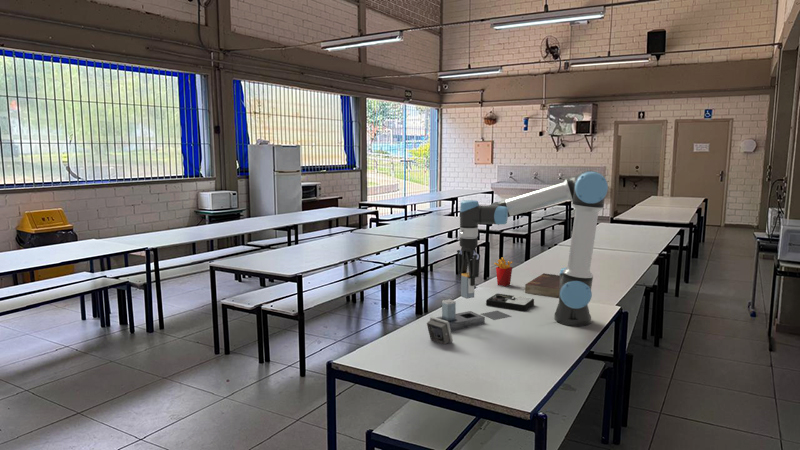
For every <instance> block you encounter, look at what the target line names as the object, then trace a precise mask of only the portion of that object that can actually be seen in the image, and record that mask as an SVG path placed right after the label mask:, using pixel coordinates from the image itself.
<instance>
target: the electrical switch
mask: <svg viewBox="0 0 800 450" xmlns="http://www.w3.org/2000/svg"><path fill="white" fill-rule="evenodd" d="M426 326H427V330H428V333H429V334H428V335H429V340H431V341H433V342H436V343H439V344H441V345H442V344H443V345H447V344H448V343H450V344H451V343H453V341H454V339H453V335H452V334H453V333H452V331H451V329H450V325H449V322H448V321H445V320H442V319H438V318H436V317H435V316H431V317H430V318H429V321H427V322H426Z"/></svg>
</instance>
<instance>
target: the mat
mask: <svg viewBox="0 0 800 450" xmlns="http://www.w3.org/2000/svg"><path fill="white" fill-rule="evenodd" d="M480 315H481V316H484V317H485V318H488V319H491V320H493V321H496V320H501V319H507V318H512V315H510V314H508V313H505V312H502V311H499V310H493V311H489V312H487V311H486V312H484V313H480Z"/></svg>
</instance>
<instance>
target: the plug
mask: <svg viewBox="0 0 800 450" xmlns="http://www.w3.org/2000/svg"><path fill="white" fill-rule="evenodd" d="M460 276H461V278H460V282H461V283H460V286H461V287H460V290H461V291H460V296H461V298H464V299H472V298H475V292H474V293H468V277H470V276H469V272H467V273H462V274H460ZM475 286H476V285H475ZM475 286H474V288H475Z"/></svg>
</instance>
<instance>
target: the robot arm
mask: <svg viewBox="0 0 800 450" xmlns="http://www.w3.org/2000/svg"><path fill="white" fill-rule="evenodd" d="M608 189H609V185H608V181H607V179H606V177H605V176H604V175H602V174H601V173H600V172H597V171H594V170H585V171H582V172H581V173H578V174H577V175H573V176H571V177H569V178H565V179H564V181H563V182H560V183H557V184H553V185H551V186H550V185H549V186H546V187H543V188H541V189H537V190H533V191H531V192H527V193H526V192H525V193H524V194H520V195H517V196H514V197H510V198H507V199H504V200H501V201H495V202H492V203H491V204H490V205H480V204H479V201H478V200H472V199H466V200H462V201H461V202H460V208H459V209H460V210H459V236H460V238H459V247H460V248H461V249H457V250H456V254H457V273H458V274H460V275H461V274H462V273H469V276H470V277H468V293H474V294H475V287H474V286H476V285H475V284H476V278H479V277H480V276H479V275H480V258H481V254H479V253H477V251H476V250H477V249H476V248H477V247H478V244H479V243H478V240H479V239H478V237H479V224H483V225H497V226H500V225H507V223H508V218H510V217H513V216H516V215H519V214H523V213H527V212H530V211H533V210H537V209H542V208H545V207H547V206H552V205H555V204H558V203H561V202H562V203H563V202H565V201H571V202H572V206H573V207H574V209H575V211H574V218H573V224H572V225H573V226H572V232H571V238H570V239H571V240H570V247H569V253H568V261H567V267H562V268H560V271H559V274H558V275H559V276H560V288H559V298H558V304H557V306H556V309H555V312H554V316H553V319H554V321H556V322H557V323H558V324H561V325H565V326H571V327H572V326H573V327H575V326H576V327H582V326H587V325H588V326H589V325H590V324H591V323H592V315H591V314H590V309H589V303H590V302H591V299H592V296H593V293H592V286H593V279H594V274H592V272H591V265H592V258H593V250H594V245H595V238H596V232H597V223H598V218H599V212H600V211H601V210H603V209H604V207H605V205H604V204H605V200H606V196H607V194H608Z"/></svg>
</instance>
